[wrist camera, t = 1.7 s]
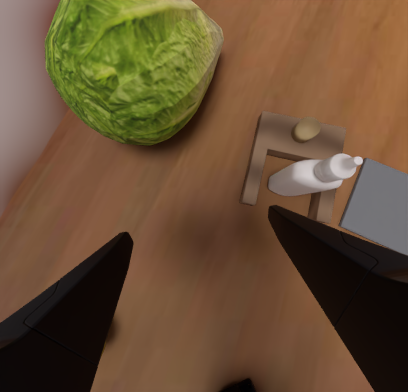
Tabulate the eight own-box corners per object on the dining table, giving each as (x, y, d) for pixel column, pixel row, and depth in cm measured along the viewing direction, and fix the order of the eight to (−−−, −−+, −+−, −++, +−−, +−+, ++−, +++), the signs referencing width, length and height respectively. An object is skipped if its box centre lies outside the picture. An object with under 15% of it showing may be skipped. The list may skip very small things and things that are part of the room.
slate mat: (415, 260, 22) (419, 261, 22) (338, 225, 23) (340, 226, 23) (439, 189, 23) (443, 188, 23) (364, 158, 24) (366, 157, 24)
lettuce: (181, 58, 31) (233, 110, 31) (64, 111, 23) (137, 184, 23) (193, -85, 17) (288, 8, 17) (-98, -88, 9) (91, 100, 9)
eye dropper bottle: (278, 165, 24) (344, 121, 13) (306, 186, 24) (403, 161, 12) (262, 185, 24) (314, 159, 12) (290, 206, 24) (372, 202, 12)
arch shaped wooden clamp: (320, 222, 23) (342, 224, 19) (239, 202, 24) (245, 200, 20) (335, 134, 25) (359, 120, 21) (258, 118, 25) (267, 101, 21)
